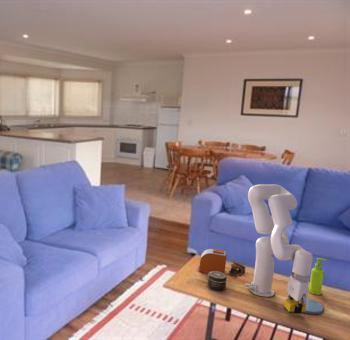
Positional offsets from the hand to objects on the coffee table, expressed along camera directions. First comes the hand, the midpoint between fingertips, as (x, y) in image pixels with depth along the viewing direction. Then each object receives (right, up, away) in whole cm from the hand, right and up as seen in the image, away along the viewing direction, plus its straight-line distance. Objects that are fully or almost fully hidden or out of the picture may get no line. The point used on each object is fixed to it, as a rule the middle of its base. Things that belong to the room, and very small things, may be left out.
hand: (294, 309), depth 183 cm
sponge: (0, -1, 0) cm, 1 cm away
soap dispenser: (+25, 0, +24) cm, 35 cm away
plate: (+11, -2, +10) cm, 15 cm away
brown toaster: (-26, +6, +47) cm, 54 cm away
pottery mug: (-12, +5, +42) cm, 44 cm away
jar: (-30, +3, +26) cm, 40 cm away
